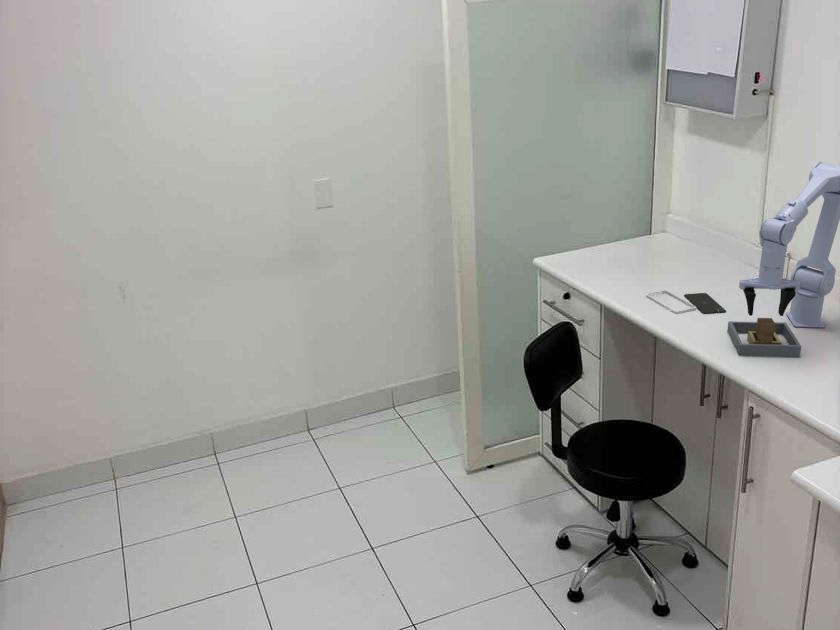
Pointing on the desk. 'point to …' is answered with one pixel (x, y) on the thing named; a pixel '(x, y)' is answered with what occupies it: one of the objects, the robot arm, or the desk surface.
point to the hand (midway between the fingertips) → (765, 314)
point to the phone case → (675, 298)
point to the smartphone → (704, 303)
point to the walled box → (764, 349)
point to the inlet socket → (752, 340)
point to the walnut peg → (764, 329)
